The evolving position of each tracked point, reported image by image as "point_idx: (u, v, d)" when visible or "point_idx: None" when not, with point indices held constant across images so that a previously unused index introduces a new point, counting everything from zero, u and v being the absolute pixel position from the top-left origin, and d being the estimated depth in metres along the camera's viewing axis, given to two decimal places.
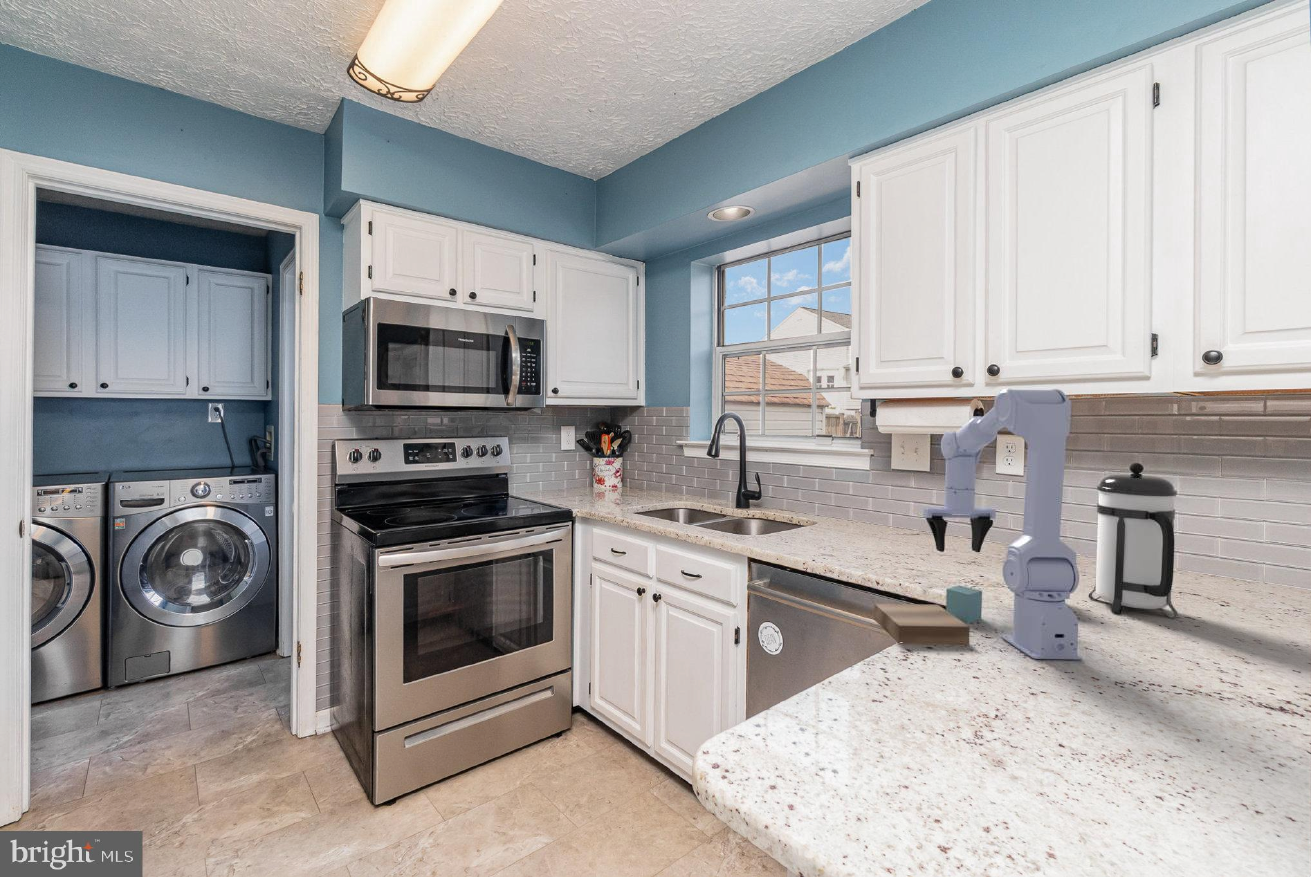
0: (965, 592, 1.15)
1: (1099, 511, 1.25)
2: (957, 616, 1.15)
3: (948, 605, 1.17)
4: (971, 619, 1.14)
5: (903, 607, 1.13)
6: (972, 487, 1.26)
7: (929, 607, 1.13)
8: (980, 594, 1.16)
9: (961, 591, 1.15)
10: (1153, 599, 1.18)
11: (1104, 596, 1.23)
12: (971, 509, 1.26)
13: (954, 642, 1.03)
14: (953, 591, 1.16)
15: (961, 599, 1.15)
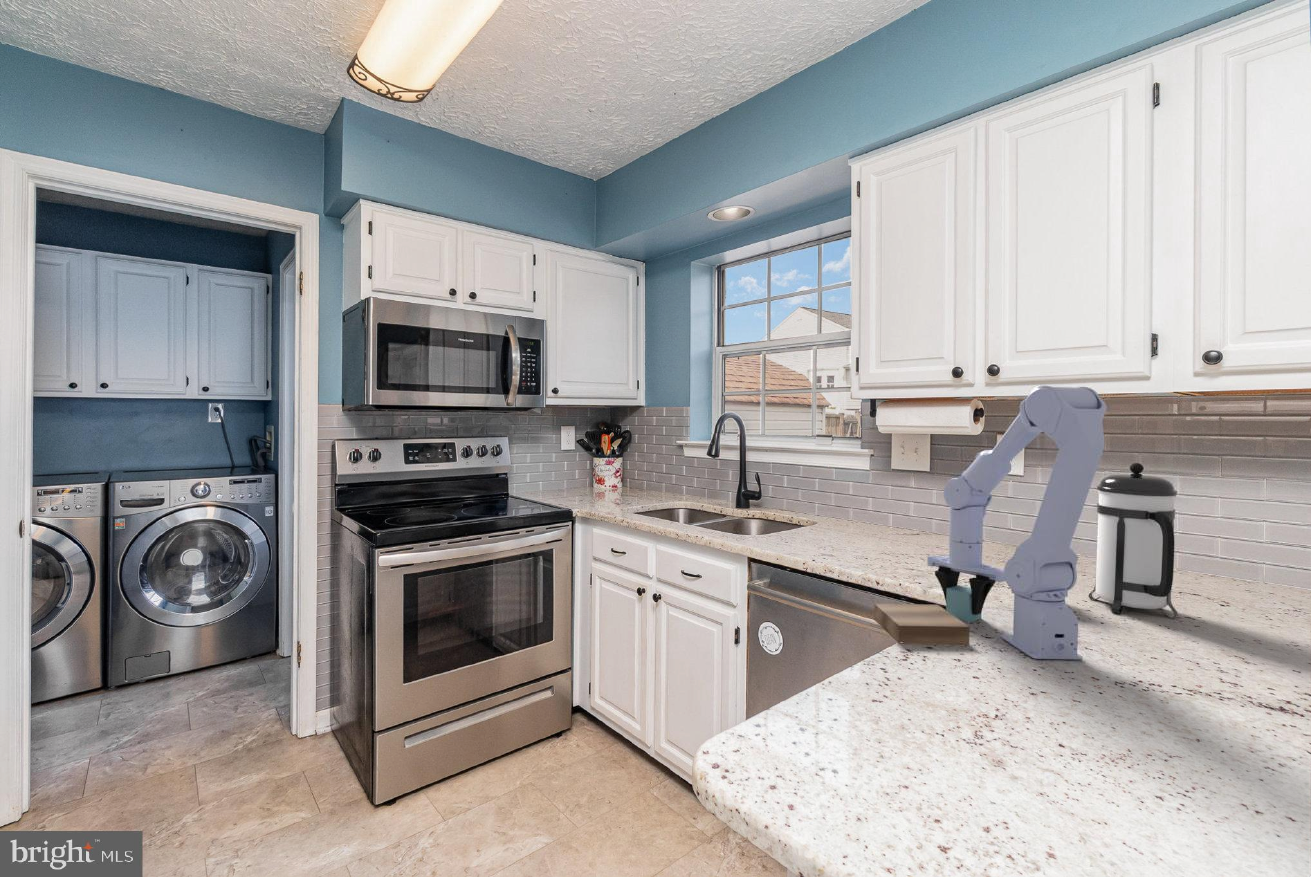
0: (965, 592, 1.15)
1: (1099, 511, 1.25)
2: (957, 616, 1.15)
3: (948, 605, 1.17)
4: (971, 619, 1.14)
5: (903, 607, 1.13)
6: (981, 540, 1.14)
7: (929, 607, 1.13)
8: None
9: (961, 591, 1.15)
10: (1153, 599, 1.18)
11: (1104, 596, 1.23)
12: (964, 565, 1.14)
13: (954, 642, 1.03)
14: (953, 591, 1.16)
15: (961, 598, 1.15)
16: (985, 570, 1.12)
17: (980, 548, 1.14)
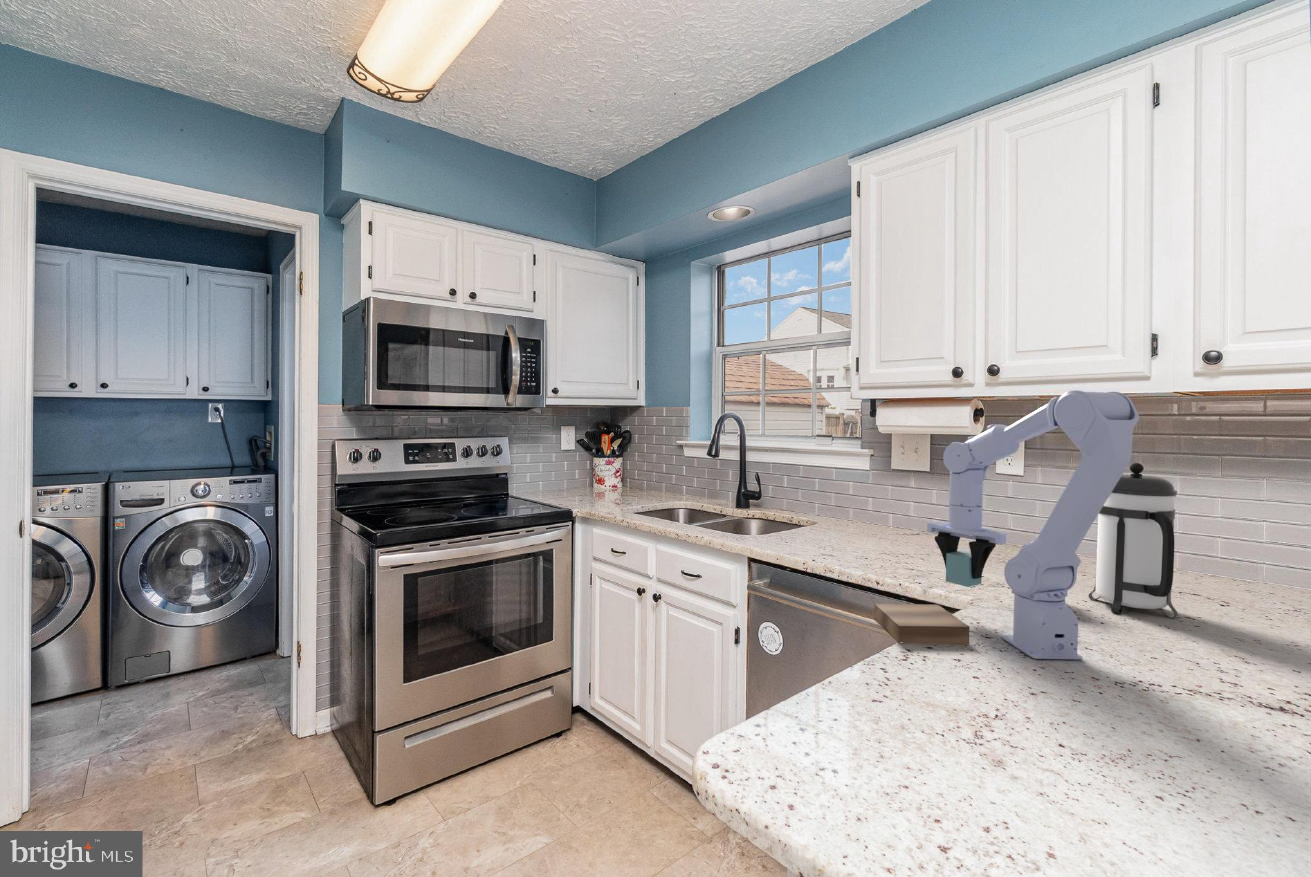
0: (965, 556, 1.14)
1: None
2: (957, 580, 1.15)
3: (948, 570, 1.16)
4: (971, 583, 1.14)
5: (903, 607, 1.13)
6: (981, 504, 1.14)
7: (929, 607, 1.13)
8: None
9: (961, 555, 1.15)
10: (1153, 599, 1.18)
11: (1104, 596, 1.23)
12: (964, 528, 1.13)
13: (954, 642, 1.03)
14: (953, 555, 1.16)
15: (961, 563, 1.14)
16: (985, 533, 1.11)
17: (980, 512, 1.13)
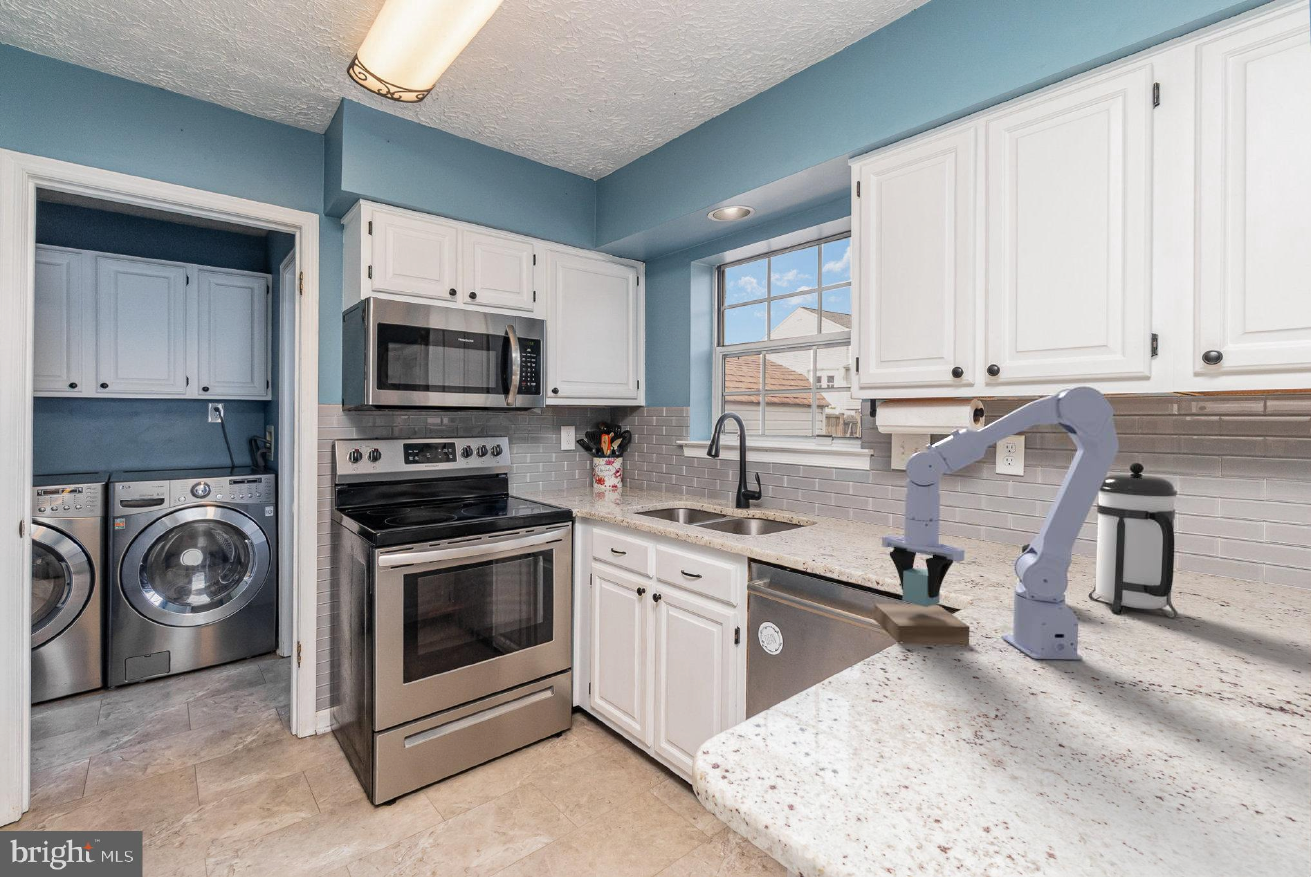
0: (923, 574, 1.07)
1: (1099, 511, 1.25)
2: (914, 600, 1.08)
3: (905, 588, 1.09)
4: (929, 603, 1.06)
5: (903, 607, 1.13)
6: None
7: (929, 607, 1.13)
8: None
9: (919, 573, 1.08)
10: (1153, 599, 1.18)
11: (1104, 596, 1.23)
12: (920, 544, 1.06)
13: (954, 642, 1.03)
14: (910, 573, 1.08)
15: (918, 581, 1.07)
16: (942, 549, 1.04)
17: (937, 526, 1.06)
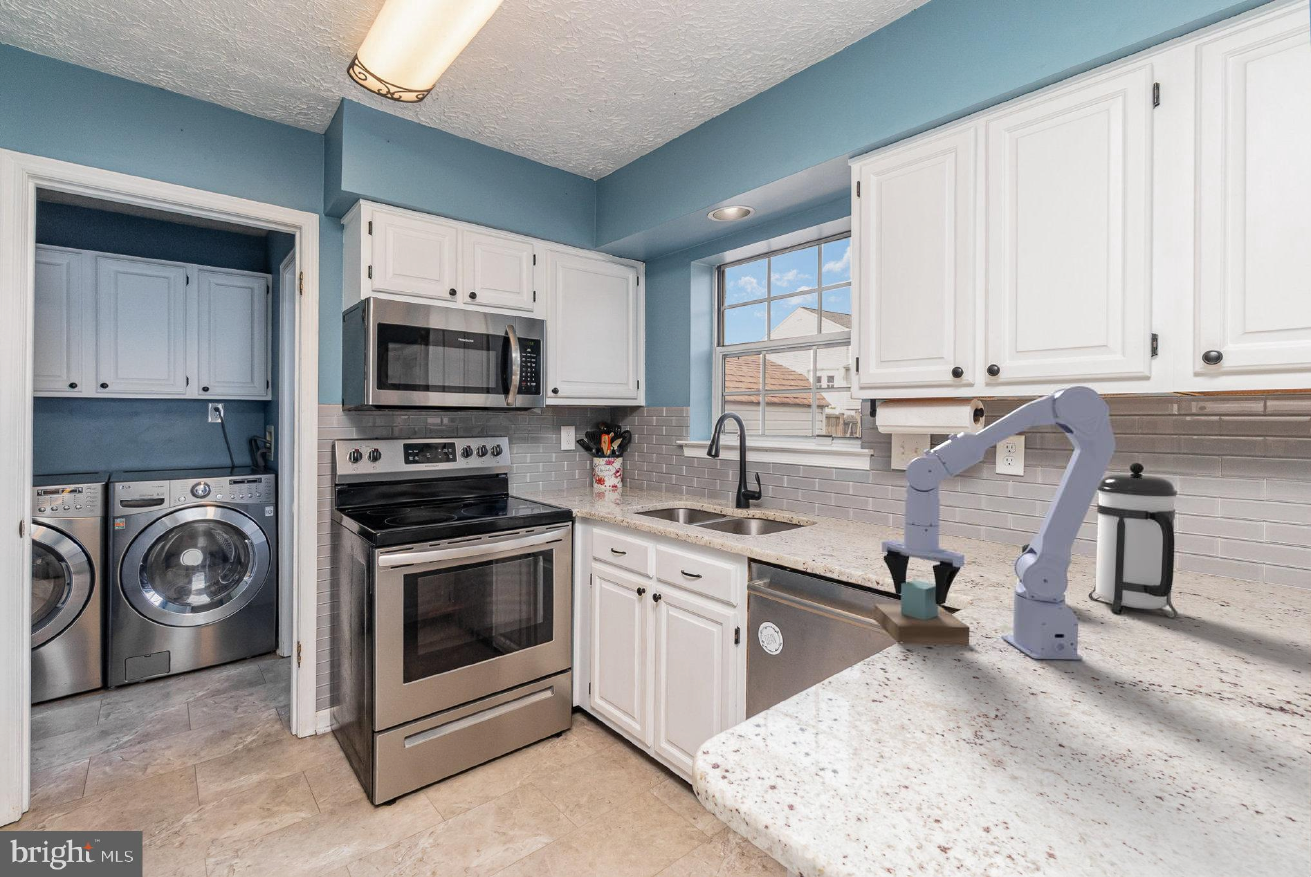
0: (921, 587, 1.07)
1: (1099, 511, 1.25)
2: (913, 613, 1.08)
3: (903, 601, 1.09)
4: (927, 616, 1.06)
5: None
6: None
7: None
8: None
9: (917, 586, 1.08)
10: (1153, 599, 1.18)
11: (1104, 596, 1.23)
12: (920, 549, 1.06)
13: (954, 642, 1.03)
14: (908, 586, 1.08)
15: (916, 594, 1.07)
16: (942, 554, 1.04)
17: (937, 531, 1.06)
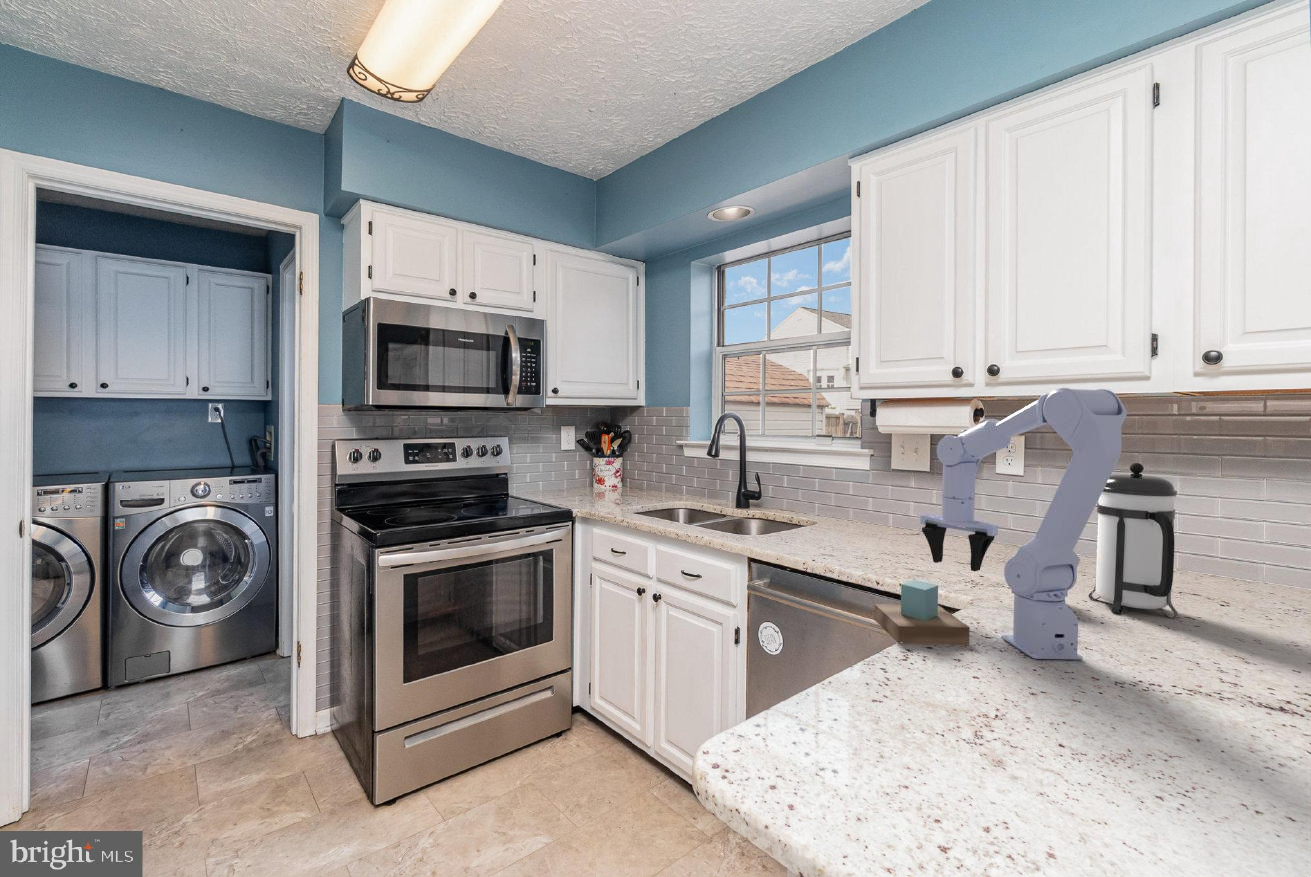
0: (921, 587, 1.07)
1: (1099, 511, 1.25)
2: (913, 613, 1.07)
3: (903, 602, 1.09)
4: (927, 616, 1.06)
5: None
6: (974, 496, 1.16)
7: None
8: (936, 589, 1.08)
9: (916, 586, 1.07)
10: (1153, 599, 1.18)
11: (1104, 596, 1.23)
12: (957, 520, 1.15)
13: (954, 642, 1.03)
14: (908, 587, 1.08)
15: (916, 595, 1.07)
16: (977, 525, 1.13)
17: (972, 504, 1.15)
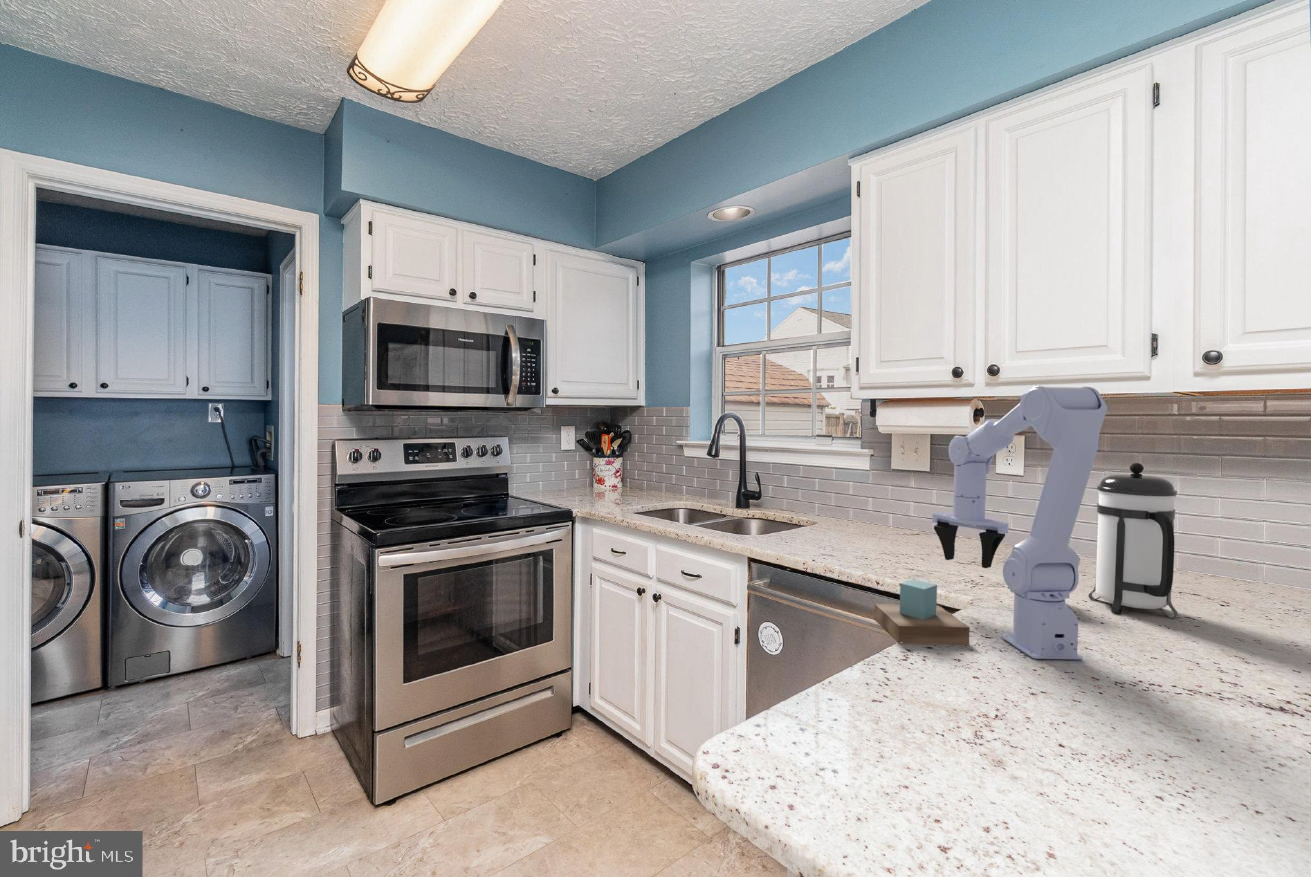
0: (920, 587, 1.07)
1: (1099, 511, 1.25)
2: (911, 612, 1.08)
3: (902, 601, 1.09)
4: (926, 615, 1.07)
5: None
6: (983, 495, 1.19)
7: None
8: (935, 588, 1.08)
9: (915, 586, 1.08)
10: (1153, 599, 1.18)
11: (1104, 596, 1.23)
12: (968, 518, 1.19)
13: (954, 642, 1.03)
14: (907, 586, 1.08)
15: (915, 594, 1.07)
16: (988, 523, 1.16)
17: (983, 502, 1.19)
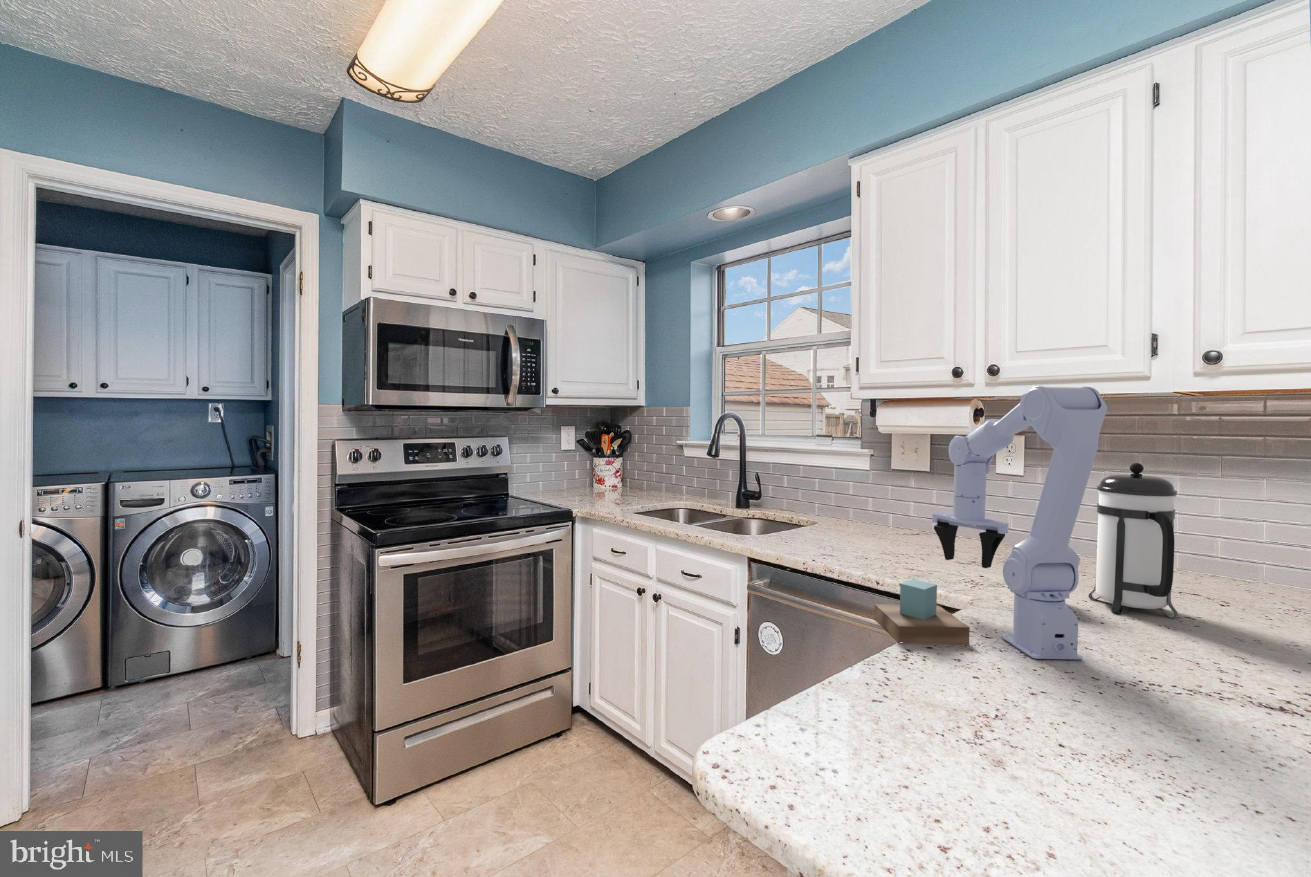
0: (920, 587, 1.07)
1: (1099, 511, 1.25)
2: (912, 613, 1.08)
3: (902, 601, 1.09)
4: (926, 615, 1.07)
5: None
6: (983, 495, 1.19)
7: None
8: (935, 588, 1.08)
9: (916, 586, 1.08)
10: (1153, 599, 1.18)
11: (1104, 596, 1.23)
12: (968, 518, 1.19)
13: (954, 643, 1.03)
14: (907, 586, 1.08)
15: (916, 594, 1.07)
16: (988, 523, 1.16)
17: (983, 502, 1.19)
